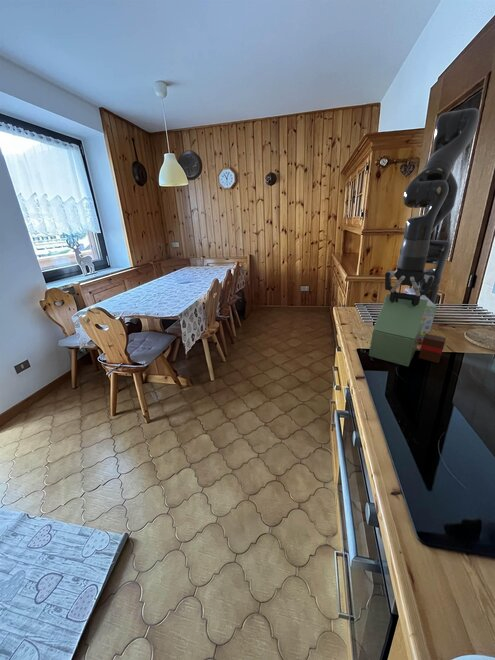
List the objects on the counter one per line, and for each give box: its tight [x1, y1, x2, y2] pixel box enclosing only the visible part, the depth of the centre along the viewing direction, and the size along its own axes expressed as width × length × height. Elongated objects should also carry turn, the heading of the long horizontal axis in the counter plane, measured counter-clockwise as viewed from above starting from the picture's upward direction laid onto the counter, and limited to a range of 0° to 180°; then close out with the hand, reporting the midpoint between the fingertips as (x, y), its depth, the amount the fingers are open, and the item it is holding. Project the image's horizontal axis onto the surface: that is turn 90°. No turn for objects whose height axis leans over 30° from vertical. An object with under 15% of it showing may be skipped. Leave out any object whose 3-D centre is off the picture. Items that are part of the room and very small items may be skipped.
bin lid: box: [372, 291, 428, 340], centre depth 93 cm, size 16×13×5 cm
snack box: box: [403, 288, 438, 344], centre depth 112 cm, size 21×6×15 cm, turn 168°
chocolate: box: [418, 333, 447, 364], centre depth 95 cm, size 4×6×8 cm, turn 52°
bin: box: [368, 324, 423, 368], centre depth 99 cm, size 15×13×10 cm
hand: (403, 303), depth 94 cm, fingers closed on bin lid, 6 cm apart
